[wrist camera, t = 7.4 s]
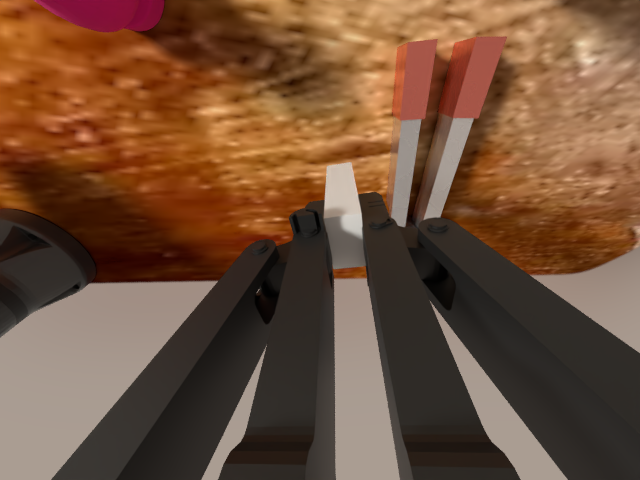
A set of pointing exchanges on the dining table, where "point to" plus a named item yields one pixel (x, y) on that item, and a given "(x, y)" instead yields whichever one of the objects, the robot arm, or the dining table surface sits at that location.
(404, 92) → the tongs arm
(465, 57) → the tongs fixed
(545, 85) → the dining table surface
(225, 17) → the dining table surface
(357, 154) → the dining table surface
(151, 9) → the pepper mill
